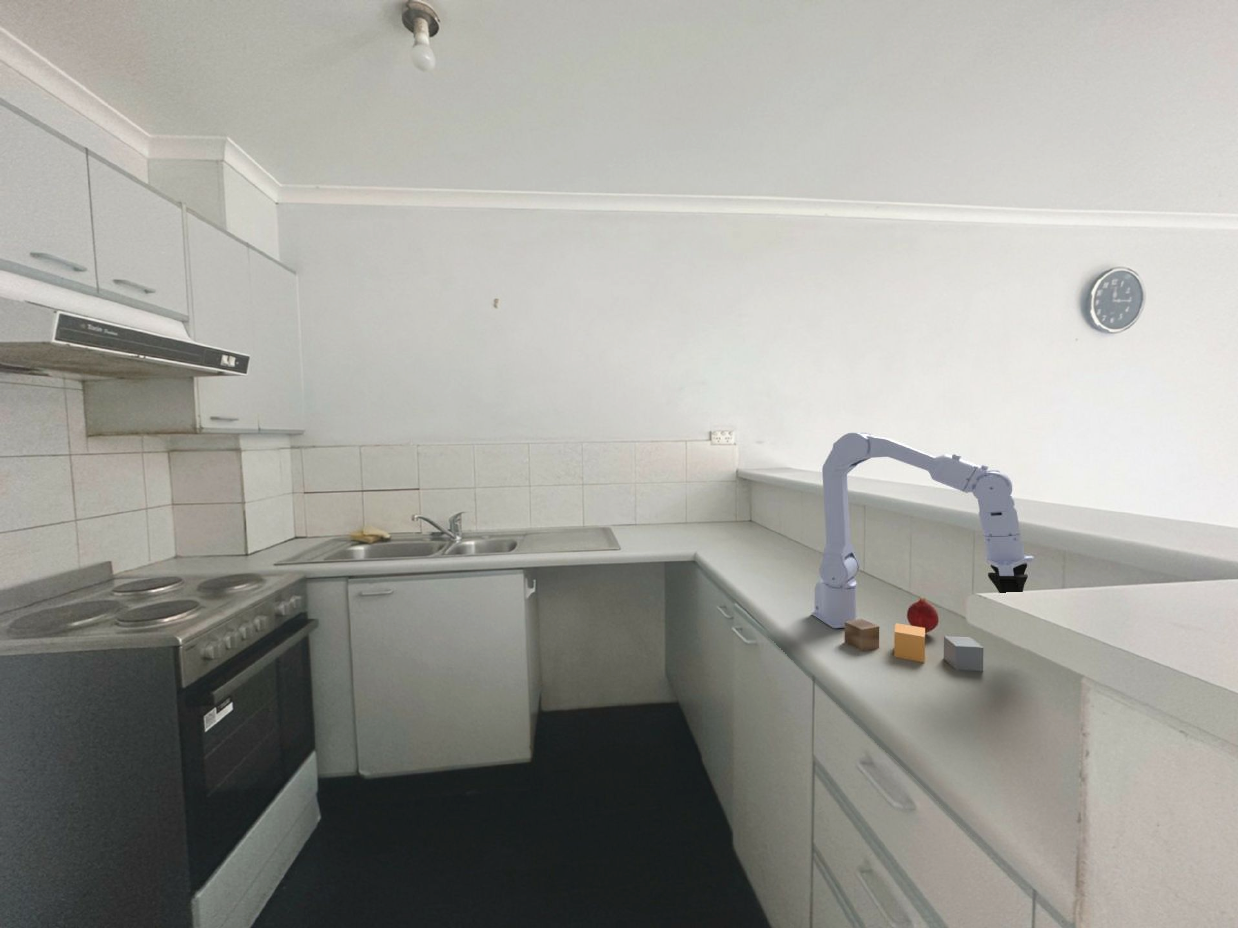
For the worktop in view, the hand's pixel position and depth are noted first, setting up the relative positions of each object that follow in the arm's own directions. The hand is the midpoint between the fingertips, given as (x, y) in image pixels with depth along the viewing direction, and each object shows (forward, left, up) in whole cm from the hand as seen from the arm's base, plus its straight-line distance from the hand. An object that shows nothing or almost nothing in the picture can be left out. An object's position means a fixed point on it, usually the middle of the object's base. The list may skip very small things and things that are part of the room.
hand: (1014, 605), depth 90 cm
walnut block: (-12, -23, -11) cm, 28 cm away
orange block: (-6, -17, -11) cm, 21 cm away
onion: (-14, -7, -11) cm, 19 cm away
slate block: (0, -11, -11) cm, 15 cm away
